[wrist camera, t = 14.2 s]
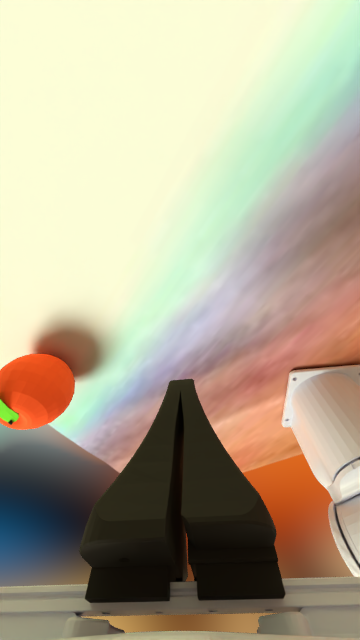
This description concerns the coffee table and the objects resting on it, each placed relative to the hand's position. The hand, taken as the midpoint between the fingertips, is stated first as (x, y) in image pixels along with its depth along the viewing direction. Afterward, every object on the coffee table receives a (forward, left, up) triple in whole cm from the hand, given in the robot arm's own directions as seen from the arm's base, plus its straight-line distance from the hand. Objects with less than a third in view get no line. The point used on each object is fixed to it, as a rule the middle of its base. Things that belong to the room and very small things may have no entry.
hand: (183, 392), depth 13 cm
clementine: (-4, +15, -10) cm, 18 cm away
